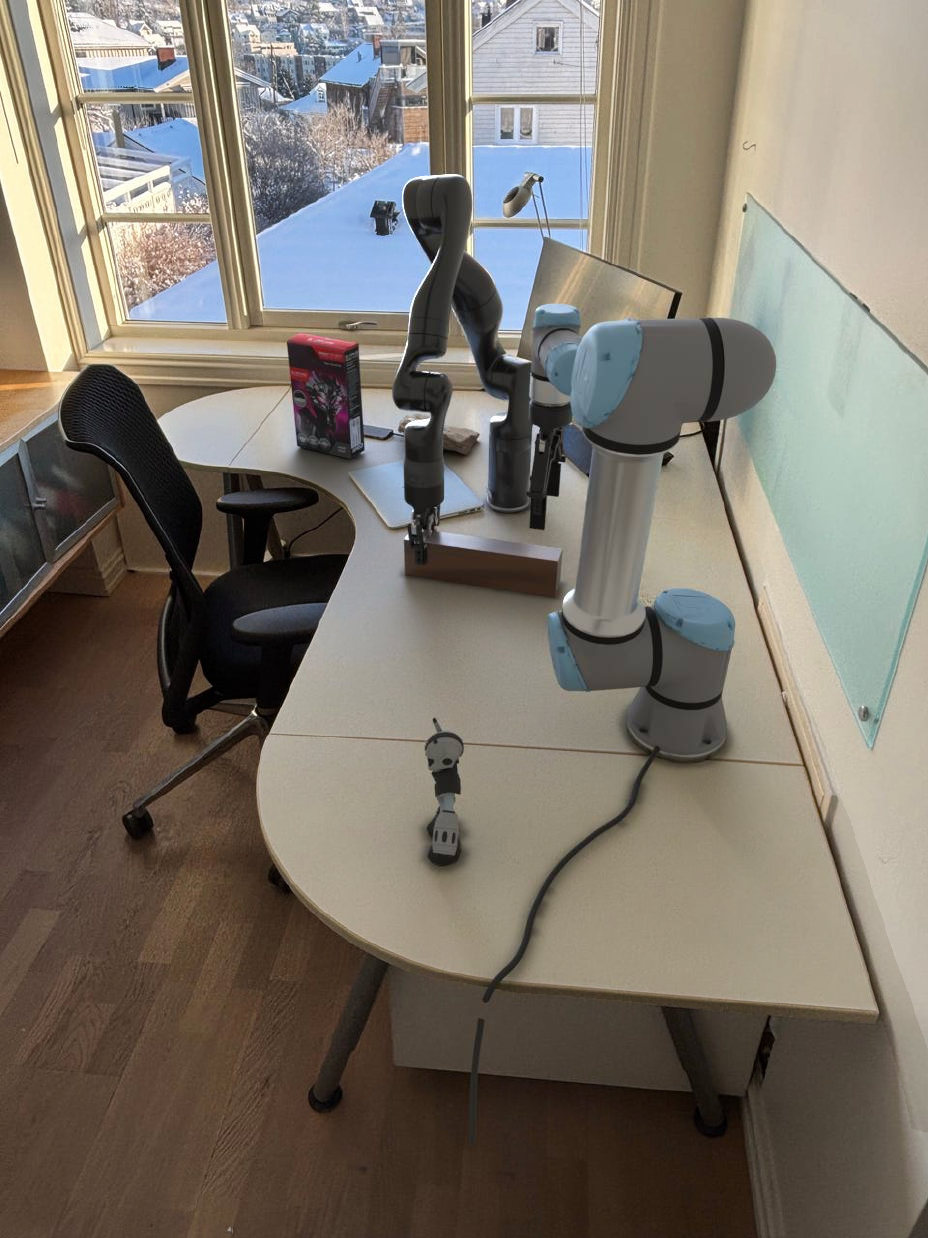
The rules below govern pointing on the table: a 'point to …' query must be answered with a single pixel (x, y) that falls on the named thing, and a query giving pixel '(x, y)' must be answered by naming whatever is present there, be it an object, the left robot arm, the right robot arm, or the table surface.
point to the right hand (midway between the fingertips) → (544, 511)
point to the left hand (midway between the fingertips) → (425, 556)
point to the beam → (488, 563)
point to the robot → (444, 794)
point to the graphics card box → (326, 394)
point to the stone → (448, 435)
